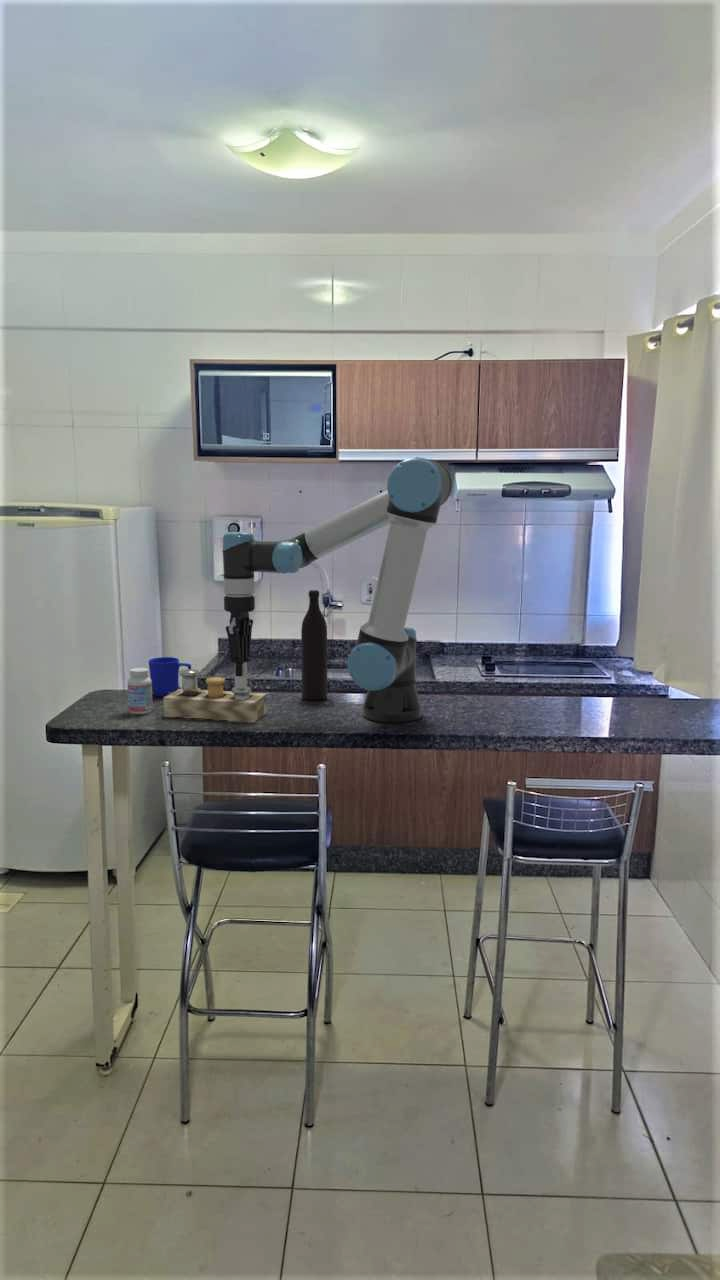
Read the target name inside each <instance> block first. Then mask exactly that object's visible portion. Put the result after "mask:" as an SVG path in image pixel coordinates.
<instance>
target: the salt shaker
mask: <svg viewBox="0 0 720 1280" xmlns="http://www.w3.org/2000/svg"><path fill="white" fill-rule="evenodd" d="M199 675H200V670H199V669H196V668H195V669H194V668H191V669H188V668H187V669H182V670H179V676H181V683H182V684H181V685H182V687H181V688H182V691H183V696H189V697H196V696H198V676H199Z"/></svg>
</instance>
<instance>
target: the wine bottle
mask: <svg viewBox="0 0 720 1280" xmlns="http://www.w3.org/2000/svg"><path fill="white" fill-rule="evenodd" d="M319 597H320V591H319V590H317V589H316V590H315V589H312V590H309V591H308V598H309V604H308V610H307V611H306V613H305V616H304V618H303V620H302V623H301V630H300V631H301V638H300V639H301V697H302V699H303V700H305V701H309V702H319V701H323V700H326V699H327V698H328V626H327V622H326V619H325V616H324V615H323V613H322V611H321V609H320V602H319Z"/></svg>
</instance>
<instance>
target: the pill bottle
mask: <svg viewBox="0 0 720 1280" xmlns="http://www.w3.org/2000/svg"><path fill="white" fill-rule="evenodd" d="M149 675H150V669H149V668H147V667H135V668H134V667H133V668H130V669H129V676H130V677H129V678H128V680H127V681H126V682H127V703H128V707H127V708H128V713H130V714H132V715H145V714H146V715H147V714H149V713H152V711H153V708H154V707H153V692H152V681H151V677H150V676H149Z"/></svg>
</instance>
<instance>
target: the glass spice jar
mask: <svg viewBox="0 0 720 1280" xmlns="http://www.w3.org/2000/svg"><path fill="white" fill-rule="evenodd" d="M231 691H232V693H234V699H237V700H248V699H249V693H252V688H251V687H250V686H247V688H245V689H241V688H235V686H233V687H232V688H231Z"/></svg>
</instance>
